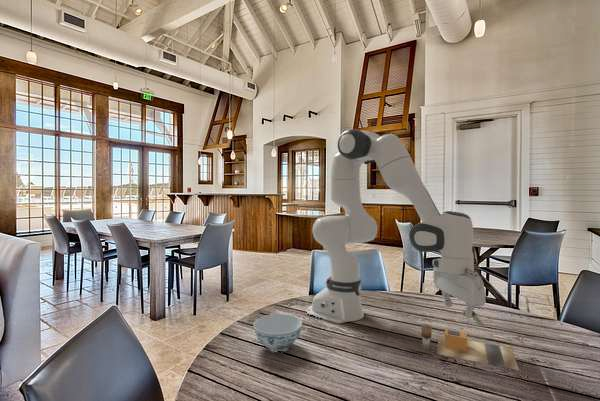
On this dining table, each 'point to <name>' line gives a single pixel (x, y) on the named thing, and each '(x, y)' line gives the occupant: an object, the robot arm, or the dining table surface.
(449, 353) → the panel
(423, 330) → the brown goblet
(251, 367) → the dining table surface
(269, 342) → the chinaware
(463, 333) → the orange box
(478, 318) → the tactical tomahawk
